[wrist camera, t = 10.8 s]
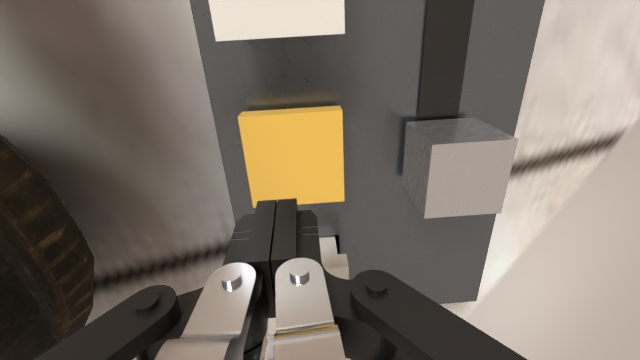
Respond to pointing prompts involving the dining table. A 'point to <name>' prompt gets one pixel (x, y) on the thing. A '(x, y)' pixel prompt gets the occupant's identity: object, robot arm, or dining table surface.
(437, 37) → the panel
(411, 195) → the brushed metal cube
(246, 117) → the button mid
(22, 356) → the ceramic pot
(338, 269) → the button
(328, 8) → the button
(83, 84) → the dining table surface
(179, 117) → the dining table surface
